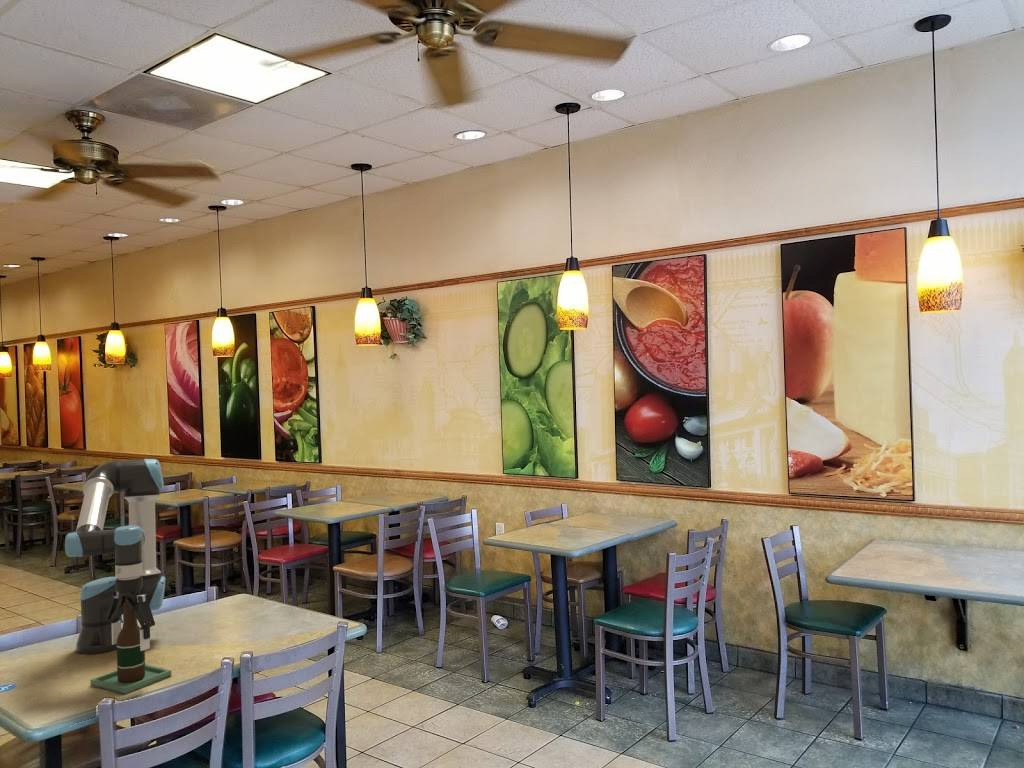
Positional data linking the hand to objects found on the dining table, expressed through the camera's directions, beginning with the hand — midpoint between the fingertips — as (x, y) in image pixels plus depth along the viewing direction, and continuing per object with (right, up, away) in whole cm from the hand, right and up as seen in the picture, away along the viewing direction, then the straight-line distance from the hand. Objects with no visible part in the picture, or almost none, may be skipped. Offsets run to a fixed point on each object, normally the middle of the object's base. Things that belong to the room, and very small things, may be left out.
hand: (130, 646), depth 239 cm
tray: (0, -11, 0) cm, 10 cm away
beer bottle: (0, -10, 0) cm, 10 cm away
